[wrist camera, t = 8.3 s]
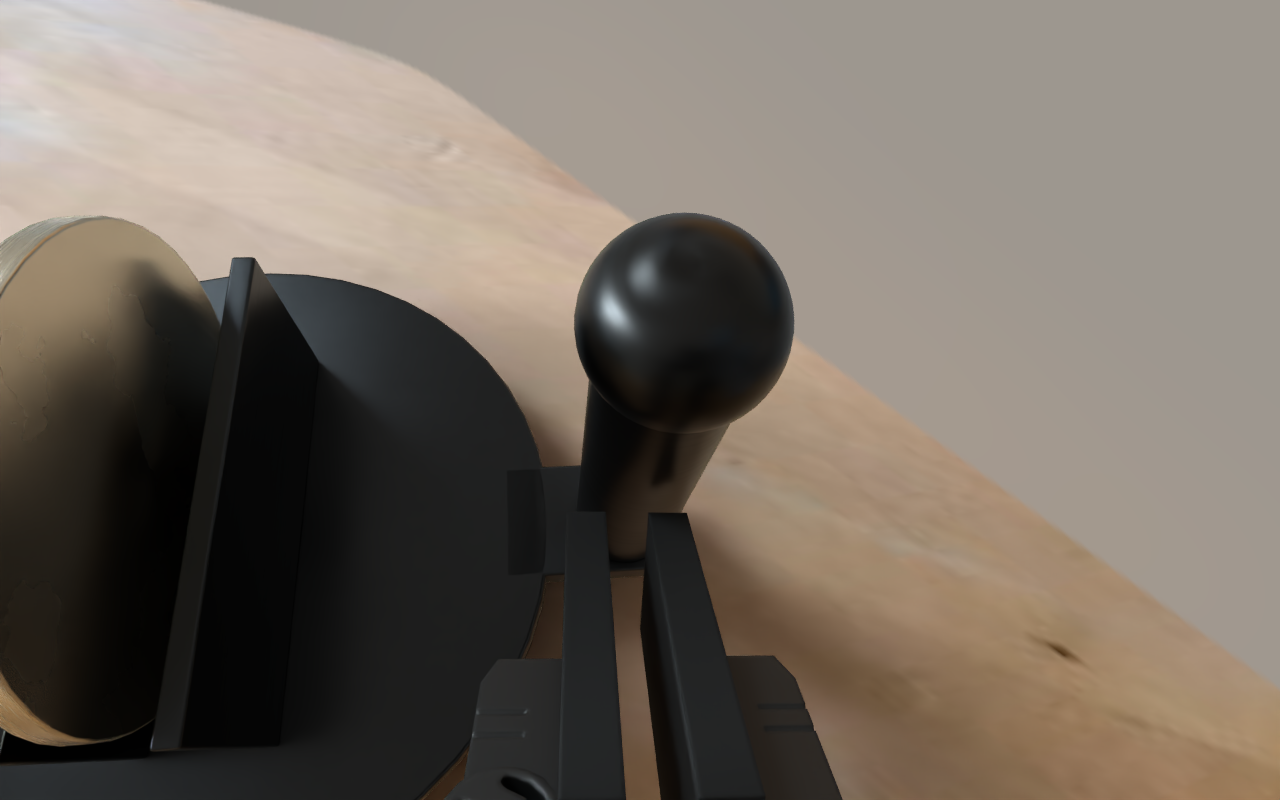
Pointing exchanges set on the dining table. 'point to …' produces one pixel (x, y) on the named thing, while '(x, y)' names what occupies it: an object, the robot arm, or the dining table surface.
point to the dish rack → (316, 502)
